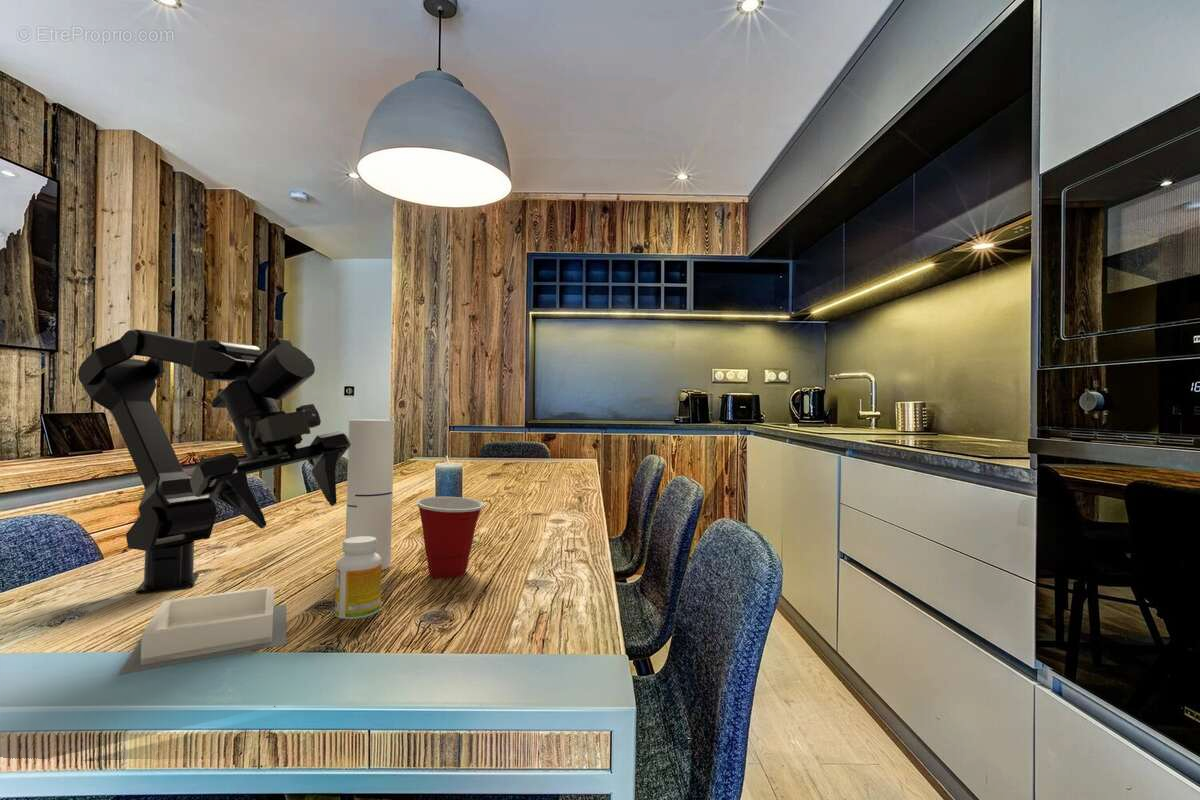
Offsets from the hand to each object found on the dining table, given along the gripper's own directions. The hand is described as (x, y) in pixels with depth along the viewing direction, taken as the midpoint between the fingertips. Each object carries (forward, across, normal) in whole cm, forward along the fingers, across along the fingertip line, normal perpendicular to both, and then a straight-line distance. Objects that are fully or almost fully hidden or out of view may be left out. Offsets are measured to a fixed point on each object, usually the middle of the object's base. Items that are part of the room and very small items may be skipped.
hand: (300, 515), depth 71 cm
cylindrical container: (+8, +13, +16) cm, 22 cm away
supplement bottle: (+16, +1, 0) cm, 16 cm away
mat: (+10, -12, +3) cm, 16 cm away
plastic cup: (+16, +19, +5) cm, 26 cm away
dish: (+10, -12, +3) cm, 16 cm away
